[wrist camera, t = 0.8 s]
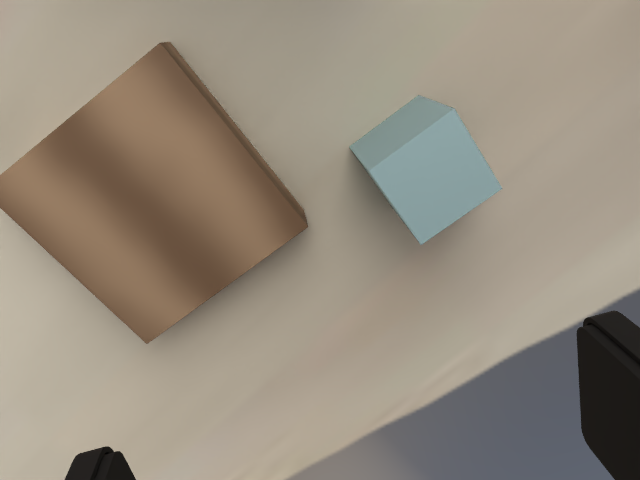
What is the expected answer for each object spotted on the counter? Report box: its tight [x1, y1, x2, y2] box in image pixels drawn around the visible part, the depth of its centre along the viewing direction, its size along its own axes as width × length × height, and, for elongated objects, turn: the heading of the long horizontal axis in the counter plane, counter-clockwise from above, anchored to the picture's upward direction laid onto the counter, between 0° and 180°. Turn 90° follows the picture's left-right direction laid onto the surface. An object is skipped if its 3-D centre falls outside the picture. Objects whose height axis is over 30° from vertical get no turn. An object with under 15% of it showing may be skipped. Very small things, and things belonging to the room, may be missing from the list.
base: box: [0, 42, 308, 344], centre depth 29 cm, size 12×12×3 cm
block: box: [350, 95, 502, 245], centre depth 28 cm, size 5×5×6 cm
